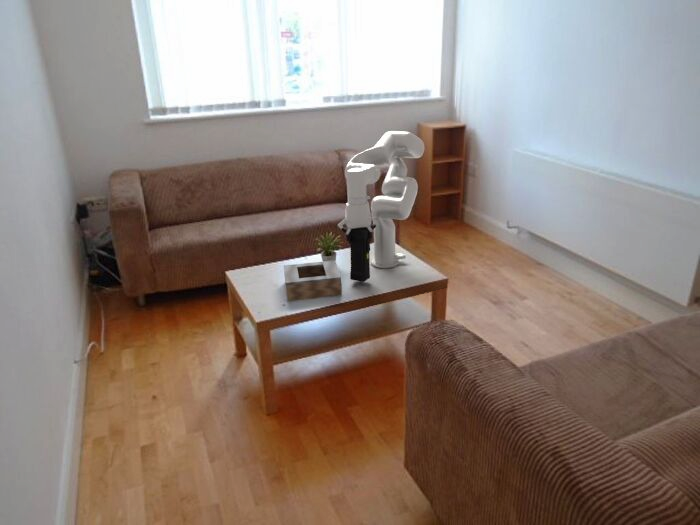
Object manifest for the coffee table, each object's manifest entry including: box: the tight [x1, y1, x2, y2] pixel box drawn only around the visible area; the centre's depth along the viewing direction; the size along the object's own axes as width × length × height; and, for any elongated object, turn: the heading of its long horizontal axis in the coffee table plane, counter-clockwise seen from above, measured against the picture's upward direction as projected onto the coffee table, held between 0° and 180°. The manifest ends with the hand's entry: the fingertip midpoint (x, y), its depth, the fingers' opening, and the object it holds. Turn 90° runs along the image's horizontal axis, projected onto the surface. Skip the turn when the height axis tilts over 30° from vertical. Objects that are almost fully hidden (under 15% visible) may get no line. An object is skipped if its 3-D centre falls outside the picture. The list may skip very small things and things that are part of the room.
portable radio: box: [349, 227, 371, 283], centre depth 214 cm, size 8×6×25 cm
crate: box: [283, 260, 343, 302], centre depth 214 cm, size 22×18×8 cm
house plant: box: [314, 231, 346, 263], centre depth 233 cm, size 14×14×16 cm
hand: (359, 241), depth 212 cm, fingers closed on portable radio, 7 cm apart
